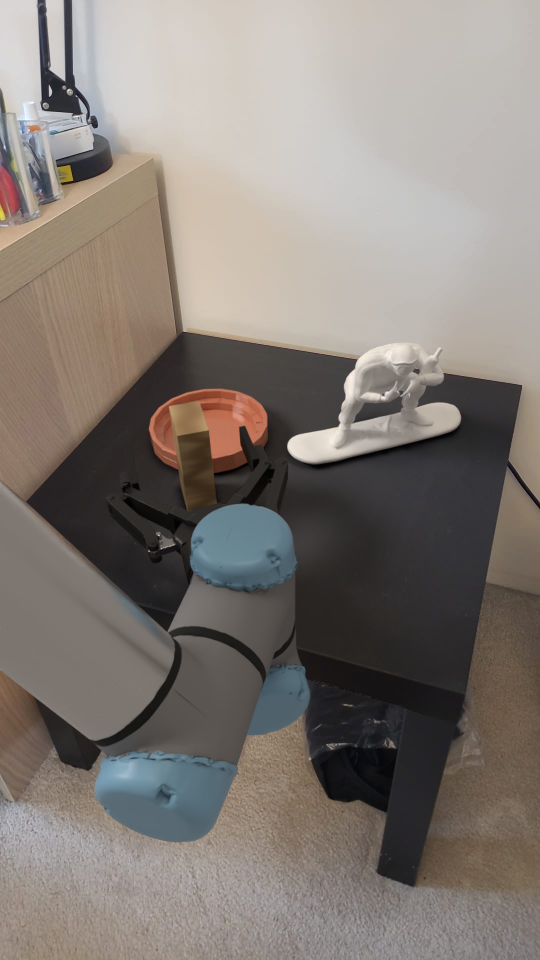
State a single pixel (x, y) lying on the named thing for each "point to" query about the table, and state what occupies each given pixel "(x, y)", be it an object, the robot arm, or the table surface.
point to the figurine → (365, 384)
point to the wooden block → (193, 455)
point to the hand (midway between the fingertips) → (187, 445)
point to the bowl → (214, 426)
